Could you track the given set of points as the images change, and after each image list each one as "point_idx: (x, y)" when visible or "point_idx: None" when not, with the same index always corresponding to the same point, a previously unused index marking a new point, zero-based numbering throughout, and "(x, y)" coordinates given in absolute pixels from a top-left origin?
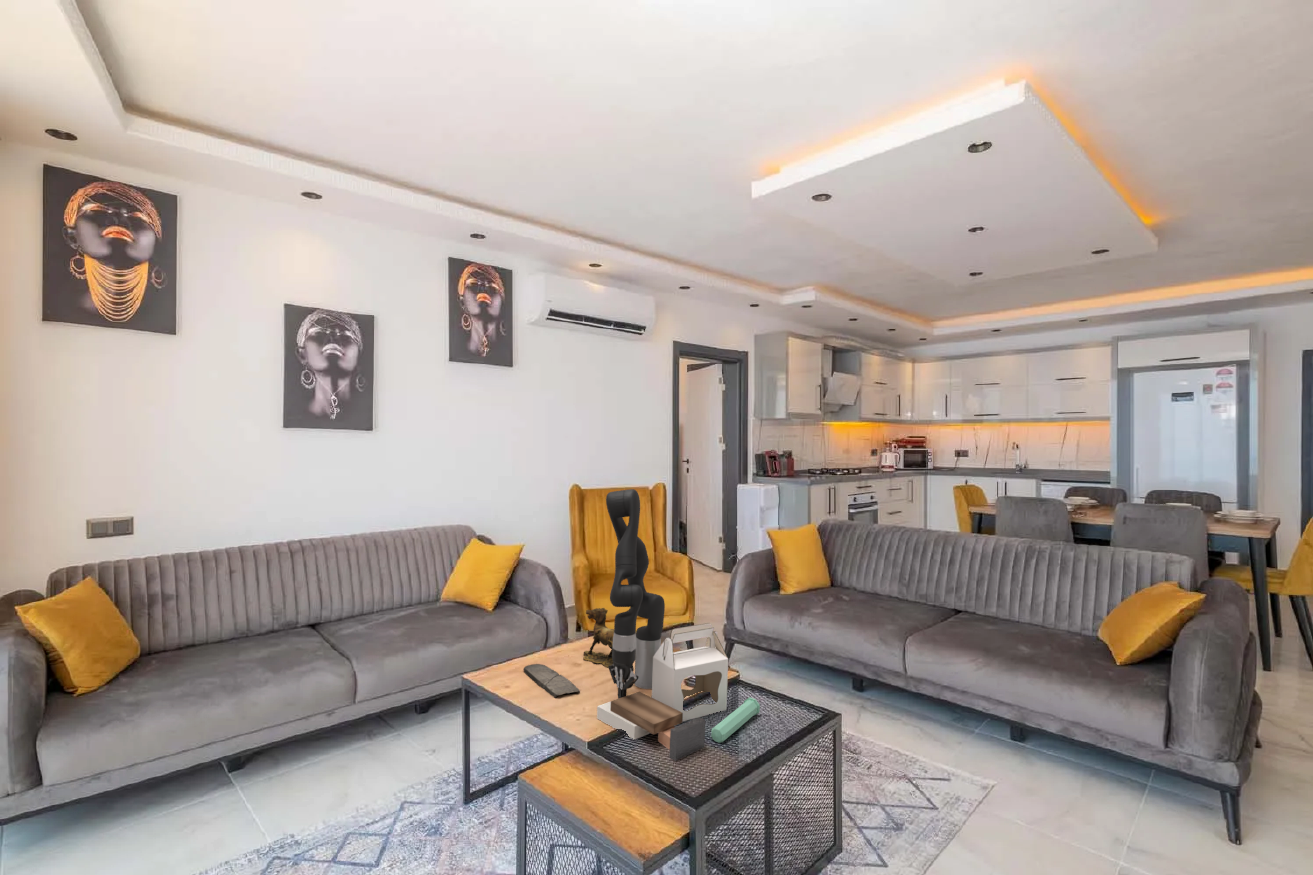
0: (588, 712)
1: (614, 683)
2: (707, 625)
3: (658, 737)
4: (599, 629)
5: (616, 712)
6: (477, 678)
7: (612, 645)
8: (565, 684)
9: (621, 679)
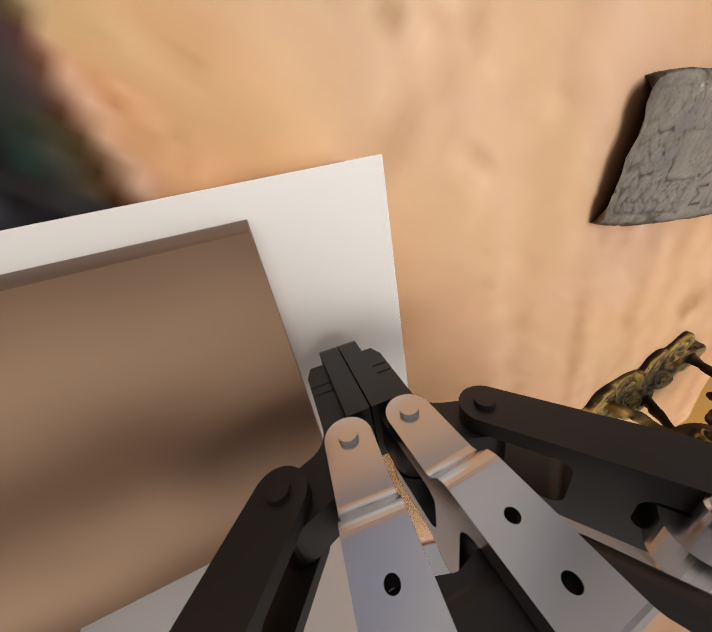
0: (435, 155)
1: (469, 388)
2: None
3: None
4: None
5: (148, 244)
6: None
7: (700, 439)
8: (676, 179)
9: (372, 586)
